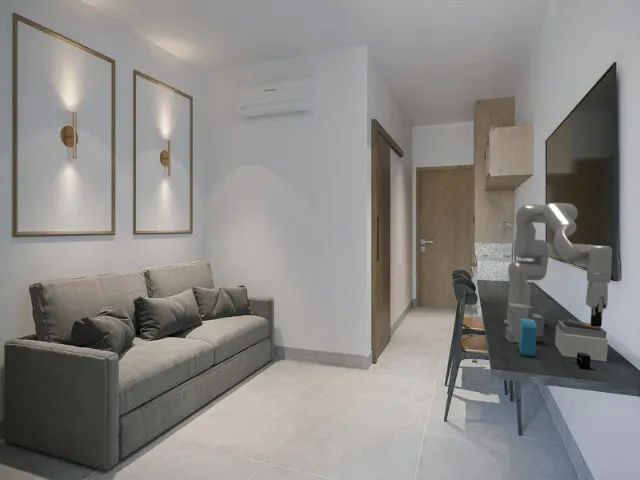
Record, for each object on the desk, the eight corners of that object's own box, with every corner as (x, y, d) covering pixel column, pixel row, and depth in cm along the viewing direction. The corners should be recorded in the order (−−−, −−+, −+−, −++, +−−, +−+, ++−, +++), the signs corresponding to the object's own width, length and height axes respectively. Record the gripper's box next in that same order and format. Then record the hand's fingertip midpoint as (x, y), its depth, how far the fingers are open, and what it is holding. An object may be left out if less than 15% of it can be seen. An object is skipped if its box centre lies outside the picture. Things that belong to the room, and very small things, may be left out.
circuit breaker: (546, 345, 169) (549, 309, 169) (509, 342, 172) (511, 306, 171) (541, 340, 177) (543, 305, 176) (505, 337, 179) (507, 302, 179)
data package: (518, 347, 165) (520, 317, 164) (531, 349, 163) (533, 319, 162) (521, 356, 153) (523, 323, 153) (534, 358, 152) (537, 325, 151)
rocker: (564, 321, 166) (565, 317, 165) (593, 328, 162) (594, 324, 162) (568, 325, 159) (569, 321, 159) (598, 332, 156) (599, 328, 156)
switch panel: (554, 344, 171) (556, 319, 171) (594, 349, 166) (596, 323, 166) (562, 355, 156) (564, 328, 156) (606, 361, 151) (608, 333, 151)
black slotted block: (565, 360, 152) (566, 348, 152) (588, 362, 151) (589, 350, 151) (578, 371, 140) (579, 358, 140) (602, 374, 139) (603, 360, 139)
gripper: (582, 275, 167) (579, 321, 167) (592, 278, 152) (589, 328, 153) (603, 277, 164) (601, 323, 164) (616, 280, 150) (614, 331, 150)
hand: (595, 325), depth 159 cm, fingers closed
